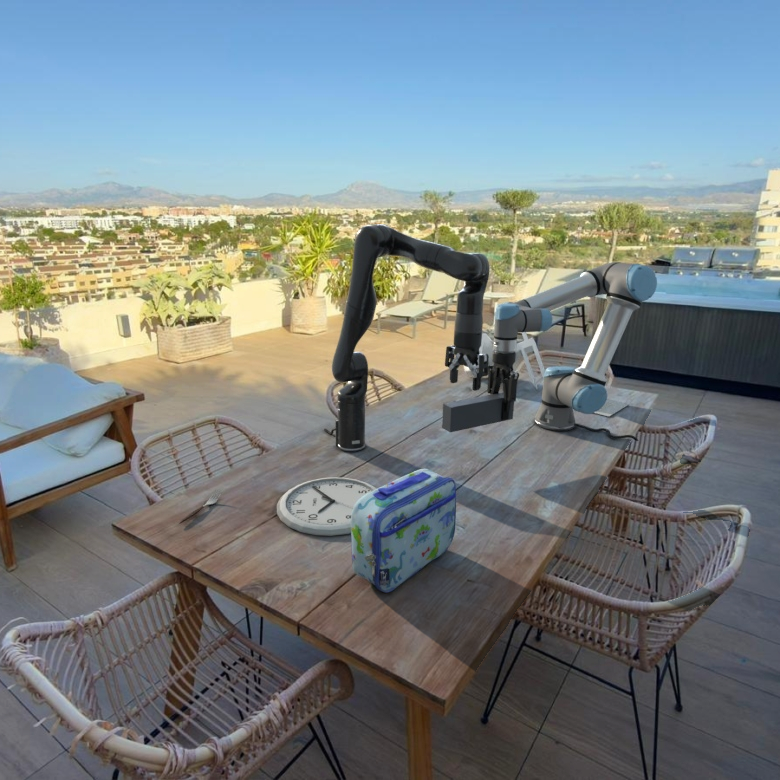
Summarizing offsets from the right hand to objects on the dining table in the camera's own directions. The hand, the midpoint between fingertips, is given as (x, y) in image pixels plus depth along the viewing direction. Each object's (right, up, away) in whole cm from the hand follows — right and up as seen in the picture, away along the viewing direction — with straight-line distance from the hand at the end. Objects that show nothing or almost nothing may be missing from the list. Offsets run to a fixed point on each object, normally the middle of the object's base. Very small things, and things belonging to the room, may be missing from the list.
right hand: (499, 416), depth 180 cm
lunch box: (-35, -31, -63) cm, 78 cm away
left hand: (-17, +10, -34) cm, 39 cm away
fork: (-88, -23, -41) cm, 100 cm away
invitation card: (+54, +2, +46) cm, 71 cm away
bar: (-8, -2, -4) cm, 9 cm away
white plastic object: (+17, +12, +78) cm, 81 cm away
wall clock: (-54, -22, -38) cm, 69 cm away
